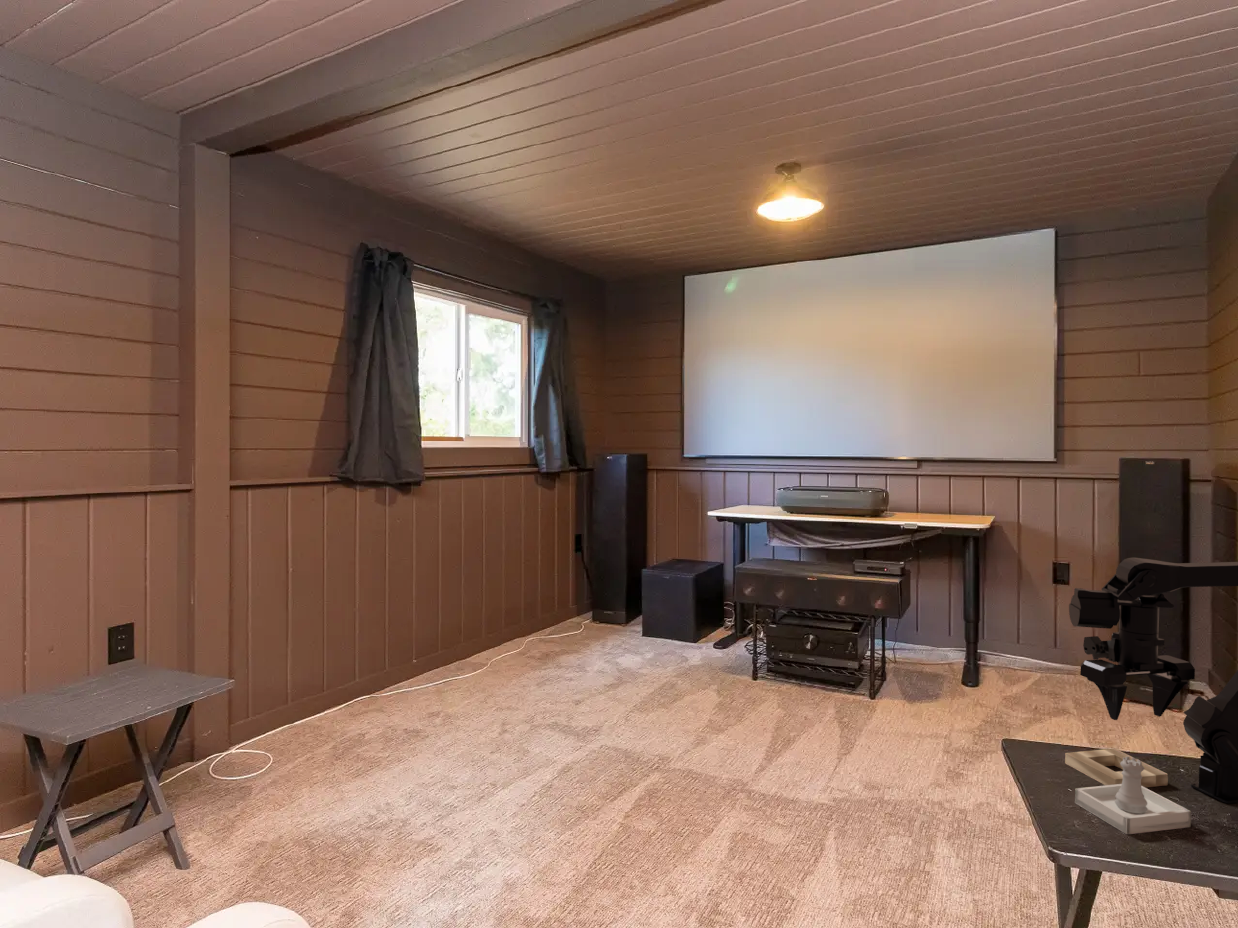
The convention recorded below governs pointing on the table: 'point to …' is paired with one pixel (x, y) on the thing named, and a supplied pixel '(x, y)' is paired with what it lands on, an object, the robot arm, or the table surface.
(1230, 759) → the robot arm
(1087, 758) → the socket block
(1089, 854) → the table surface
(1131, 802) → the rook chess piece
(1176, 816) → the tray
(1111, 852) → the table surface
